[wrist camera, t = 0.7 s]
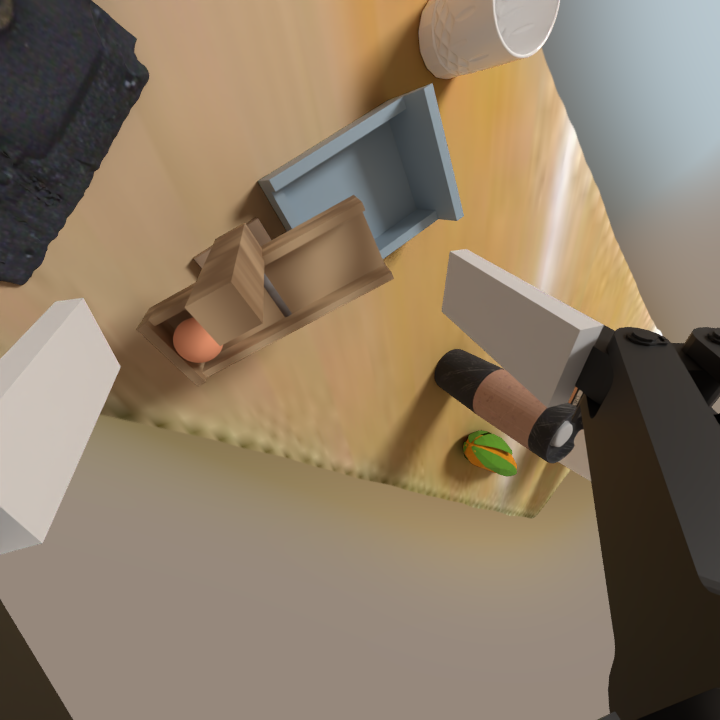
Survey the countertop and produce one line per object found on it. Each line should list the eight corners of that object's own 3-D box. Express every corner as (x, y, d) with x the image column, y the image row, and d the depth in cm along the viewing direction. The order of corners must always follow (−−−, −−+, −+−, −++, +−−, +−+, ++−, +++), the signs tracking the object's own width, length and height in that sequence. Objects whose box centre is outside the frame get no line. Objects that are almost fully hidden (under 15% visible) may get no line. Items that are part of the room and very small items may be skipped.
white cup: (459, 98, 38) (539, 74, 30) (404, 68, 34) (480, 31, 26) (481, 8, 35) (575, -44, 27) (424, -36, 31) (515, -111, 23)
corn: (501, 441, 58) (541, 466, 71) (471, 416, 64) (512, 442, 76) (474, 474, 59) (518, 492, 71) (446, 446, 65) (491, 467, 77)
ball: (172, 310, 26) (164, 331, 23) (221, 308, 27) (218, 328, 24) (181, 349, 28) (174, 373, 25) (227, 346, 29) (225, 369, 26)
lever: (207, 365, 30) (179, 478, 21) (128, 285, 25) (41, 386, 16) (385, 270, 29) (444, 344, 19) (340, 165, 24) (390, 193, 14)
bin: (319, 286, 39) (346, 302, 33) (257, 181, 32) (279, 178, 26) (422, 212, 42) (463, 215, 36) (387, 100, 34) (432, 82, 29)
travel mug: (428, 364, 53) (544, 437, 37) (464, 338, 54) (590, 397, 39) (438, 397, 57) (546, 475, 42) (471, 372, 59) (587, 438, 43)
